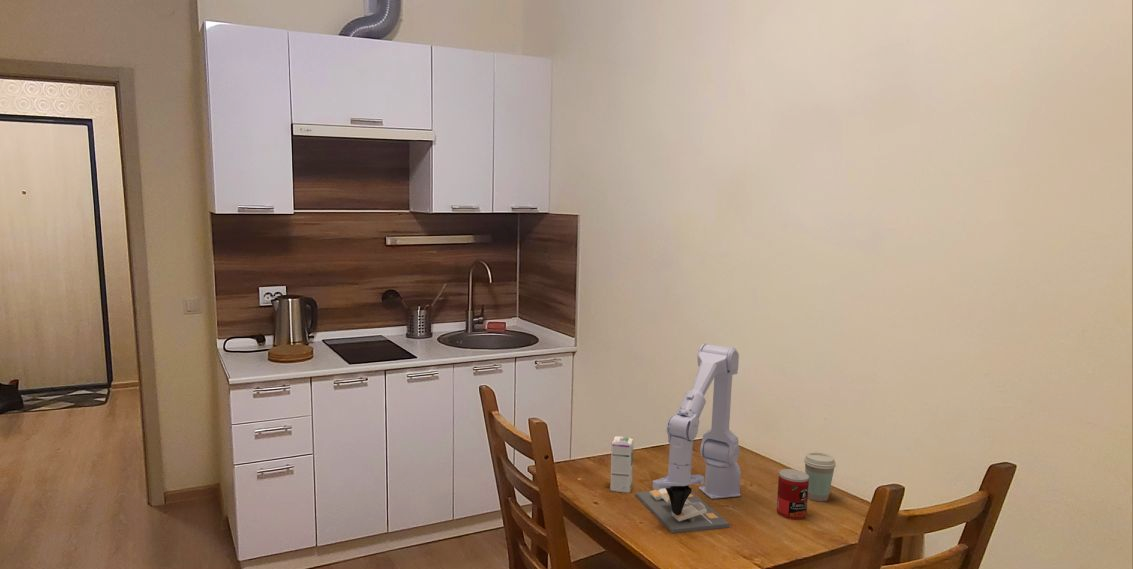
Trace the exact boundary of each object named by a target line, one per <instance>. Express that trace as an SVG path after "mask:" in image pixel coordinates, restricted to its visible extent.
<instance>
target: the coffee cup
mask: <svg viewBox="0 0 1133 569" xmlns="http://www.w3.org/2000/svg"><path fill="white" fill-rule="evenodd" d="M803 462H804V466H805V467H804V468H805V470H804V471H805V472H804V473H806V474H807V475H808V476H809V487H808V499H809V500H812V501H815V502H826V501H828V500H829V496H830V492H831V486H832V482H833V477H834V473H835V472H834V471H835V468H836V466H837V465H836V461H835V458H834V457H833V456H832V455H830V454H827V453H822V452H808V453H807V454H806V455H805V457H804V460H803Z"/></svg>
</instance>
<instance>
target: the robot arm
mask: <svg viewBox="0 0 1133 569" xmlns="http://www.w3.org/2000/svg"><path fill="white" fill-rule="evenodd" d="M739 360H740V355H739V352H738V350H737V349H736V348H735V347H728V346H720V345H715V344H714V345H713V344H708V343H702V344H701V345H700V347H699V348H698V351H697V366H698V370H697V372H696V375H695V377H694V378H695V379H694V381H693V385H692V387H691V390H687V391H686V392H685V394H684V396H683V398H682V400H681V402H680V404H679V406H678V409H677V410H676V413H675V414H674V415H671V416H670V417H669V419H668V421H667V426H666V434H667V441H668V444H669V455H668V467H667V468H668V469H667V471H668V472H667V476H664V477H662V478H659V479H653V480H652V487H651V488H652V489H653V490H656V491H657V490H660V489H664V488H666V490H667V493H668V495H669V498H670V501H671V506H672V512H673V513H674V514H675V515H680V514H681V512H682V509H683V506H684V504H685V501H686V499H687V498H688V496H689V495H690V494H691V491H692V488H691V487H690V486H691V485H703V486H698V489H699V490H700V491H701V492H702V493H704V494H705V495H706V496H707V497H708V498H710V499H711V500H714V499H715V500H717V499H724V498H725V499H726V498H737V497H741V496H742V494H741V493H740V489H741V479H742V478H741V475H742V473H741V468H740V465H739V464H738V463H737V462H738V460H739V457H740V446H739V437H738V436H737V435H736V434H735V433H733V432H732V430H730V419H731V403H732V402H731V400H732V385H733V384H732V383H733V376H734V375H737V374H738V370H739ZM712 383H713V393H712V394H713V396H712V408H711V409H712V412H711V414H712V415H711V428H710V429H708V430H706V431H705V432H704V433H703V435H702V439H701V443H700V448H699V451H700V452H699V453H700V455H701V457H702V459H703V462H704V463H705V476H704V475H702V474H691V473H692V460H693V447H694V440H695V438H696V437H697V434H698V432H699V425H700V417H701V414H702V412H703V410H704V407H705V406H706V403H707V401H706V397H705V395H706V393H707V391H708V390H709V388H710V386H711V384H712ZM692 492H693V491H692Z"/></svg>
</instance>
